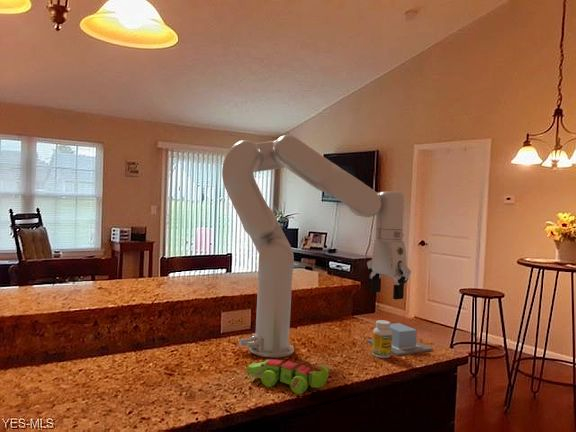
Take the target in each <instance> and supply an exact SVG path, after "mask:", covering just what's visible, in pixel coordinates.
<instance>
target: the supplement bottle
mask: <svg viewBox="0 0 576 432" xmlns="http://www.w3.org/2000/svg"><path fill="white" fill-rule="evenodd" d="M390 324H391V322H390V321H388V320H382V319H378V320H376V321H375V326H376V327H374V329H373V330H372V339H373V344H372V349H371V351H372V352H371V354H372V355H373V356H374V357H377V358H380V359H381V358H382V359H386V358H387V359H388V358H390V357H391V355H392V353H391V346H392V331H391V330H390V329H389V328H390Z"/></svg>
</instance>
